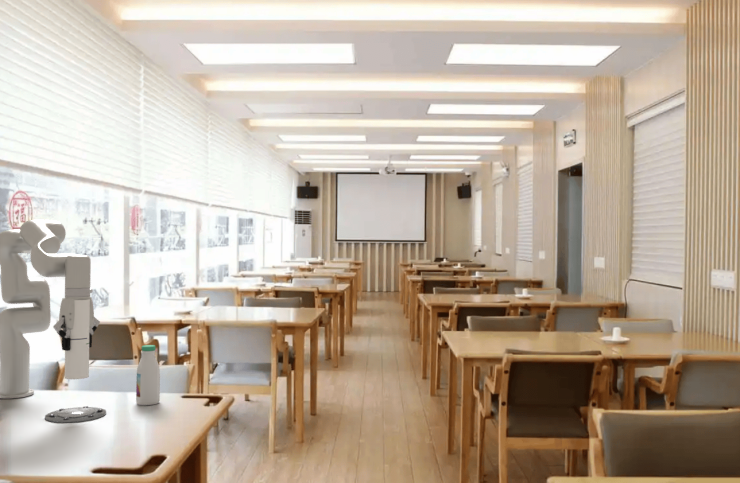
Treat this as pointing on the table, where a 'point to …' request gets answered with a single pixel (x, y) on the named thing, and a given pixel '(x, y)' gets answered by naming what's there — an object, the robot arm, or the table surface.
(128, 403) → the table surface
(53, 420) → the flange
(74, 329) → the cylindrical container
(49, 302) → the robot arm
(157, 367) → the milk bottle
